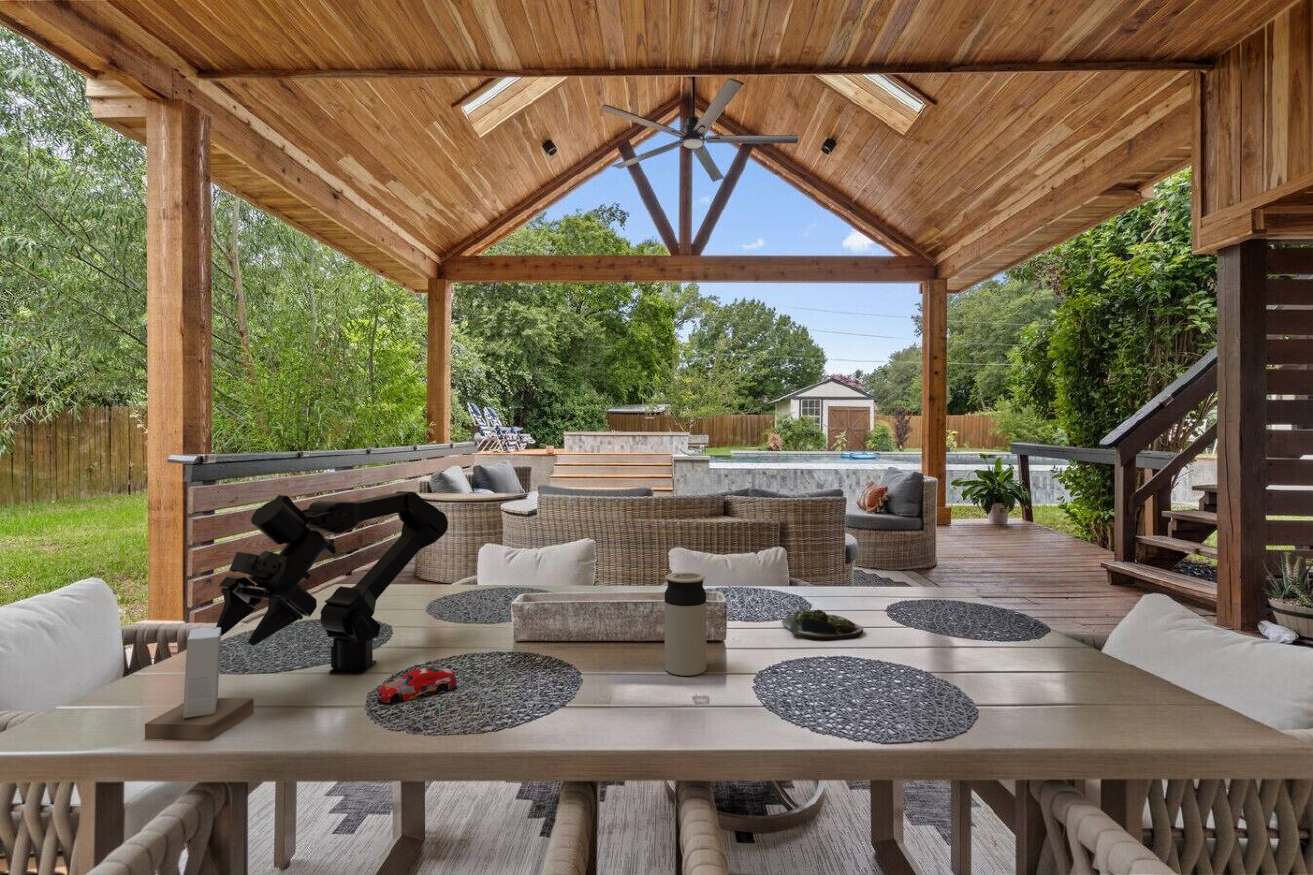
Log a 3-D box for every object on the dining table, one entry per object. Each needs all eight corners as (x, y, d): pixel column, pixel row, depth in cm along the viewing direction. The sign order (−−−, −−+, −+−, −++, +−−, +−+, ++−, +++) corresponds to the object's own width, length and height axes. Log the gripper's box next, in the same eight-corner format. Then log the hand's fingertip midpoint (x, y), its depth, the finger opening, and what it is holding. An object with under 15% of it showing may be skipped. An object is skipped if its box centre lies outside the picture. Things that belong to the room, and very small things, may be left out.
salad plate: (765, 620, 164) (765, 602, 164) (832, 616, 167) (832, 598, 167) (797, 644, 145) (797, 623, 145) (873, 639, 148) (873, 618, 148)
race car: (381, 709, 111) (380, 685, 111) (373, 698, 115) (373, 675, 115) (459, 691, 119) (459, 668, 118) (450, 682, 123) (449, 660, 123)
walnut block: (253, 716, 109) (253, 698, 109) (210, 744, 99) (210, 724, 99) (193, 715, 109) (193, 697, 109) (144, 743, 99) (144, 723, 99)
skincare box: (185, 705, 106) (190, 628, 106) (217, 701, 108) (222, 626, 108) (181, 719, 100) (186, 638, 101) (215, 714, 103) (220, 635, 103)
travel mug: (714, 669, 129) (714, 575, 129) (687, 680, 123) (687, 582, 123) (683, 659, 134) (683, 569, 134) (656, 670, 128) (655, 576, 128)
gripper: (229, 529, 117) (160, 607, 107) (299, 536, 109) (231, 621, 99) (273, 565, 124) (212, 642, 115) (342, 575, 116) (282, 658, 106)
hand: (232, 640), depth 108 cm, fingers open, 9 cm apart
